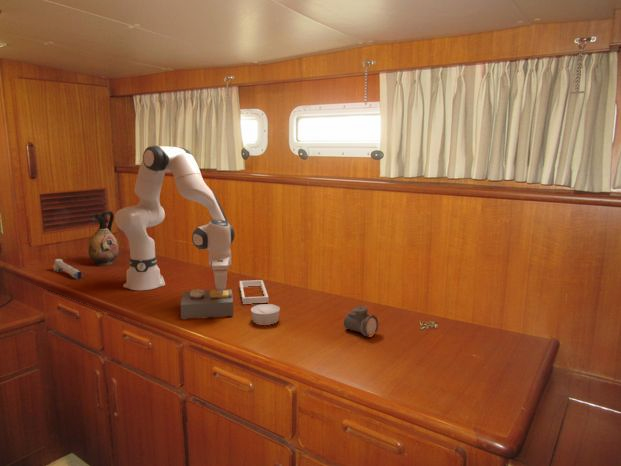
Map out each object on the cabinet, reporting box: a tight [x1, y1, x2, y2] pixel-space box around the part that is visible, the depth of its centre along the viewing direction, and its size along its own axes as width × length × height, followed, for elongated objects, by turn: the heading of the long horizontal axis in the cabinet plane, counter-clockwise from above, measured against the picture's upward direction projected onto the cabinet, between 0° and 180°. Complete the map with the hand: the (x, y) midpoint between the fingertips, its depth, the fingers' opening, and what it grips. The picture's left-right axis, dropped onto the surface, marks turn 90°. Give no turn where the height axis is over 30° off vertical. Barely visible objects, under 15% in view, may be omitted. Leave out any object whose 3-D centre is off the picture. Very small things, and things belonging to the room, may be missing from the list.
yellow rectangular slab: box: [210, 289, 233, 298], centre depth 181 cm, size 6×9×1 cm
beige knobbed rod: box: [52, 258, 83, 280], centre depth 227 cm, size 5×7×25 cm
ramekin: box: [250, 303, 281, 326], centre depth 171 cm, size 11×11×5 cm
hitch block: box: [180, 289, 234, 320], centre depth 181 cm, size 16×20×6 cm
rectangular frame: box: [239, 279, 269, 305], centre depth 201 cm, size 25×11×3 cm, turn 12°
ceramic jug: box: [88, 210, 120, 267], centre depth 246 cm, size 17×15×30 cm
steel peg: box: [190, 288, 205, 299], centre depth 180 cm, size 6×6×8 cm
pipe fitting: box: [343, 305, 379, 338], centre depth 162 cm, size 12×8×10 cm
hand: (220, 292), depth 181 cm, fingers closed, pressing on yellow rectangular slab
